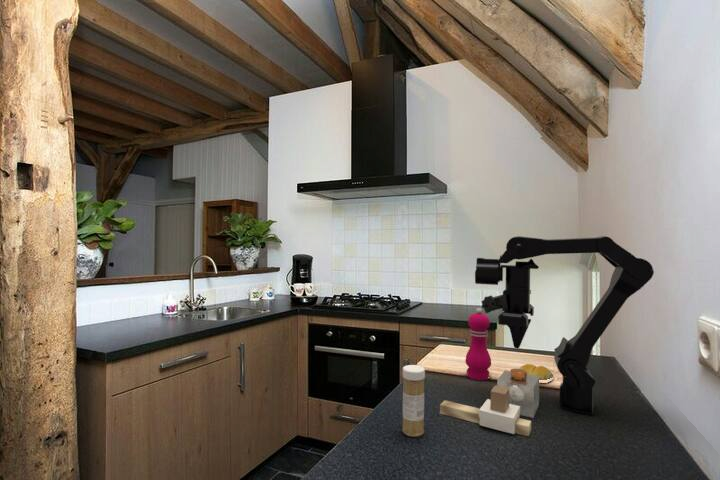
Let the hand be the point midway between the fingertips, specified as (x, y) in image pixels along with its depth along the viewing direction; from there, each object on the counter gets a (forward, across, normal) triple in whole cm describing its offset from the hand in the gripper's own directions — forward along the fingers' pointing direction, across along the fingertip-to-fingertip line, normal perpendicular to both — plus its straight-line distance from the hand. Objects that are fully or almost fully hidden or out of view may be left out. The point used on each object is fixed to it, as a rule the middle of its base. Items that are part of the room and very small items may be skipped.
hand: (516, 347), depth 100 cm
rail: (+13, +17, -5) cm, 22 cm away
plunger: (+10, +5, +1) cm, 11 cm away
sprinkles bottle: (+13, +29, -16) cm, 36 cm away
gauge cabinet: (+13, +5, +1) cm, 14 cm away
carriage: (+13, +17, -1) cm, 21 cm away
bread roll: (+13, -18, +3) cm, 23 cm away
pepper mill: (+13, -12, -12) cm, 21 cm away
